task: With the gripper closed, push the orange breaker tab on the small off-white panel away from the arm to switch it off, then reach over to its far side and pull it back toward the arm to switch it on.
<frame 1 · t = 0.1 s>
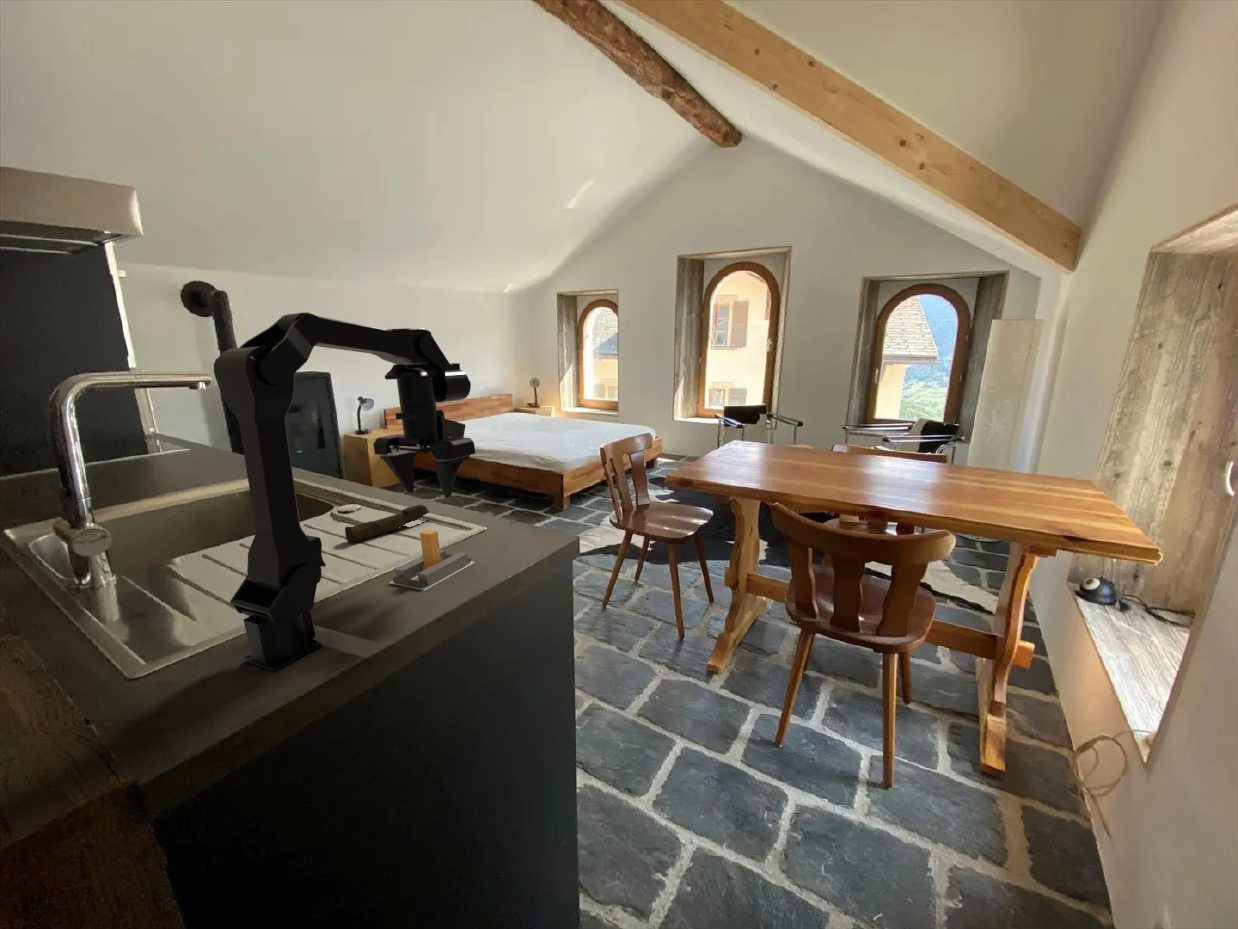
hand: (429, 494, 90), 14 cm above the counter, tool pointing down, fingers open, 9 cm apart
dark brown rod: (390, 532, 117), on the counter
breaker tab: (431, 551, 88), point 5 cm above the counter, slide at 0.0 cm
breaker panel: (434, 580, 89), on the counter
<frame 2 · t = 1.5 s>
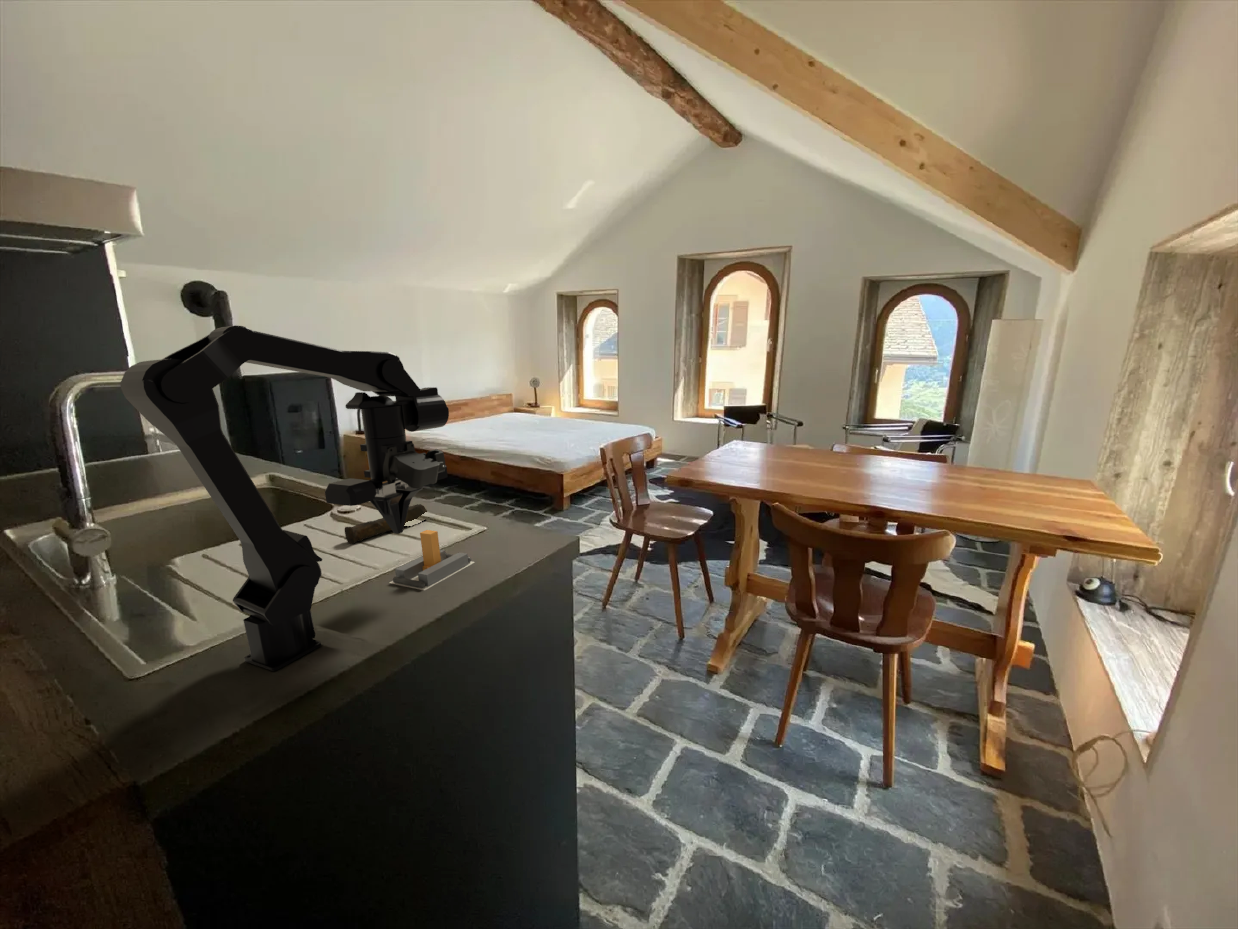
hand: (398, 533, 82), 11 cm above the counter, tool pointing down, fingers closed
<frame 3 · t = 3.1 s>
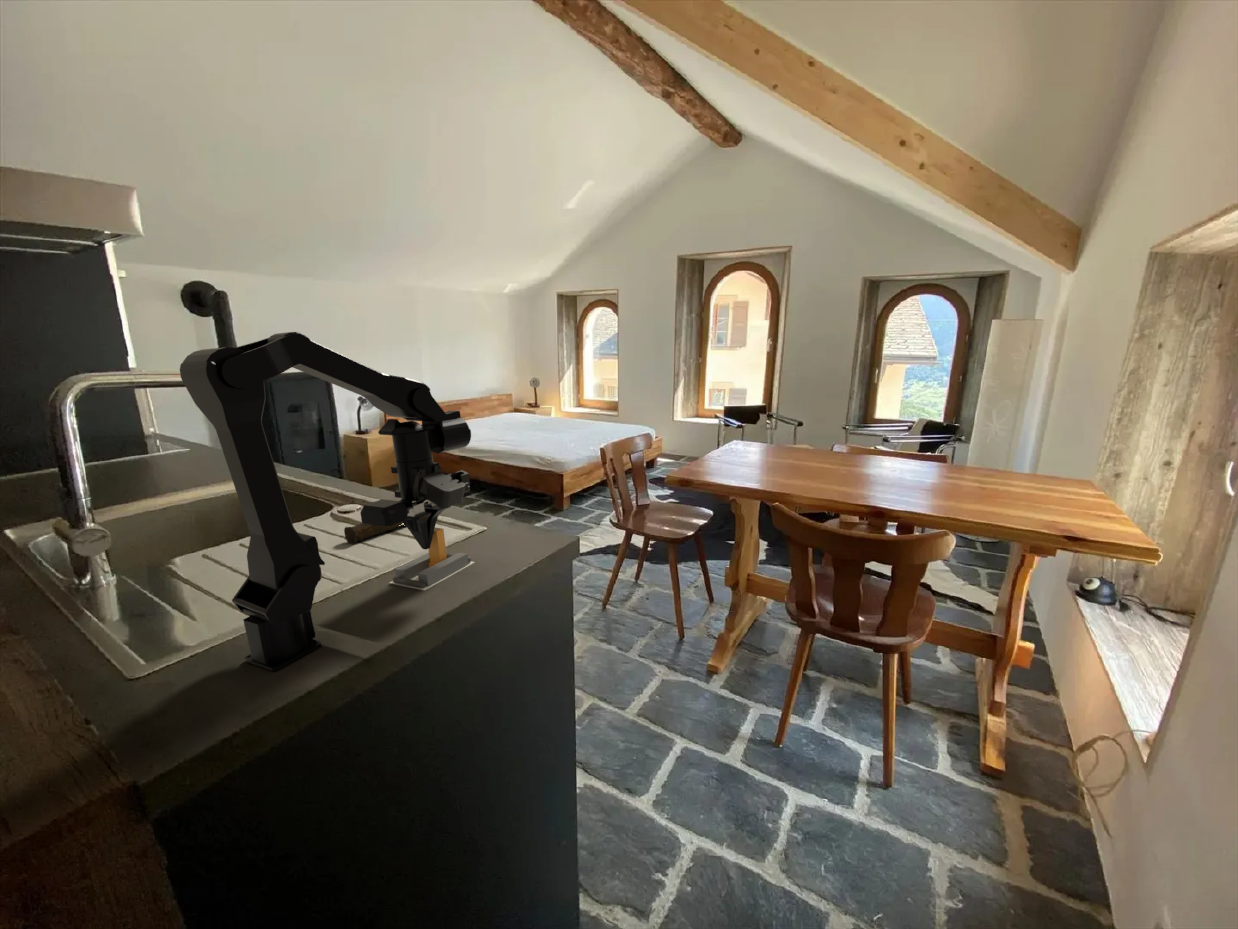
hand: (426, 548, 87), 6 cm above the counter, tool pointing down, fingers closed
breaker tab: (437, 548, 89), point 5 cm above the counter, slide at 1.4 cm, touching gripper
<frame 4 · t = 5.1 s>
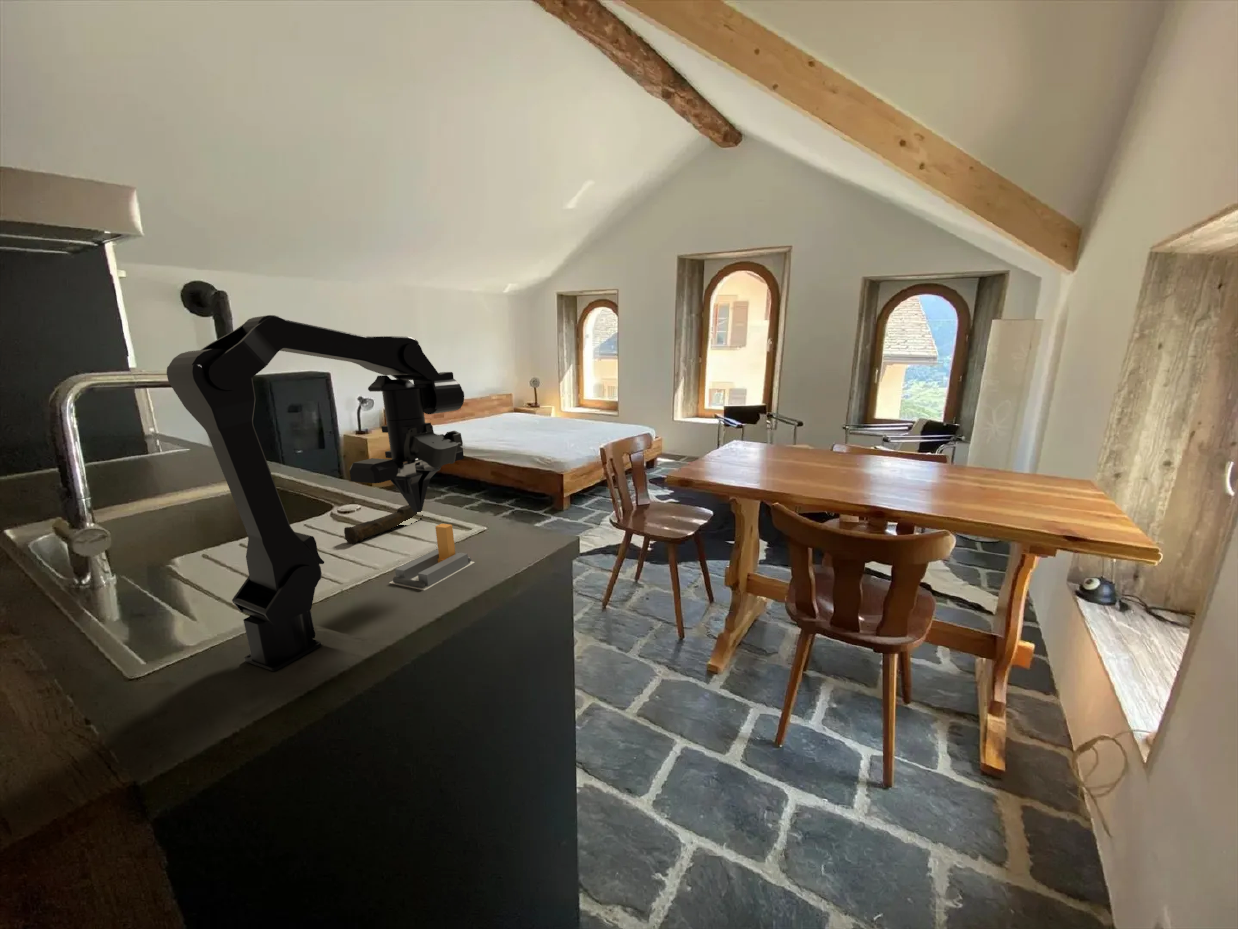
hand: (417, 511, 85), 13 cm above the counter, tool pointing down, fingers closed
breaker tab: (445, 544, 91), point 5 cm above the counter, slide at 3.6 cm
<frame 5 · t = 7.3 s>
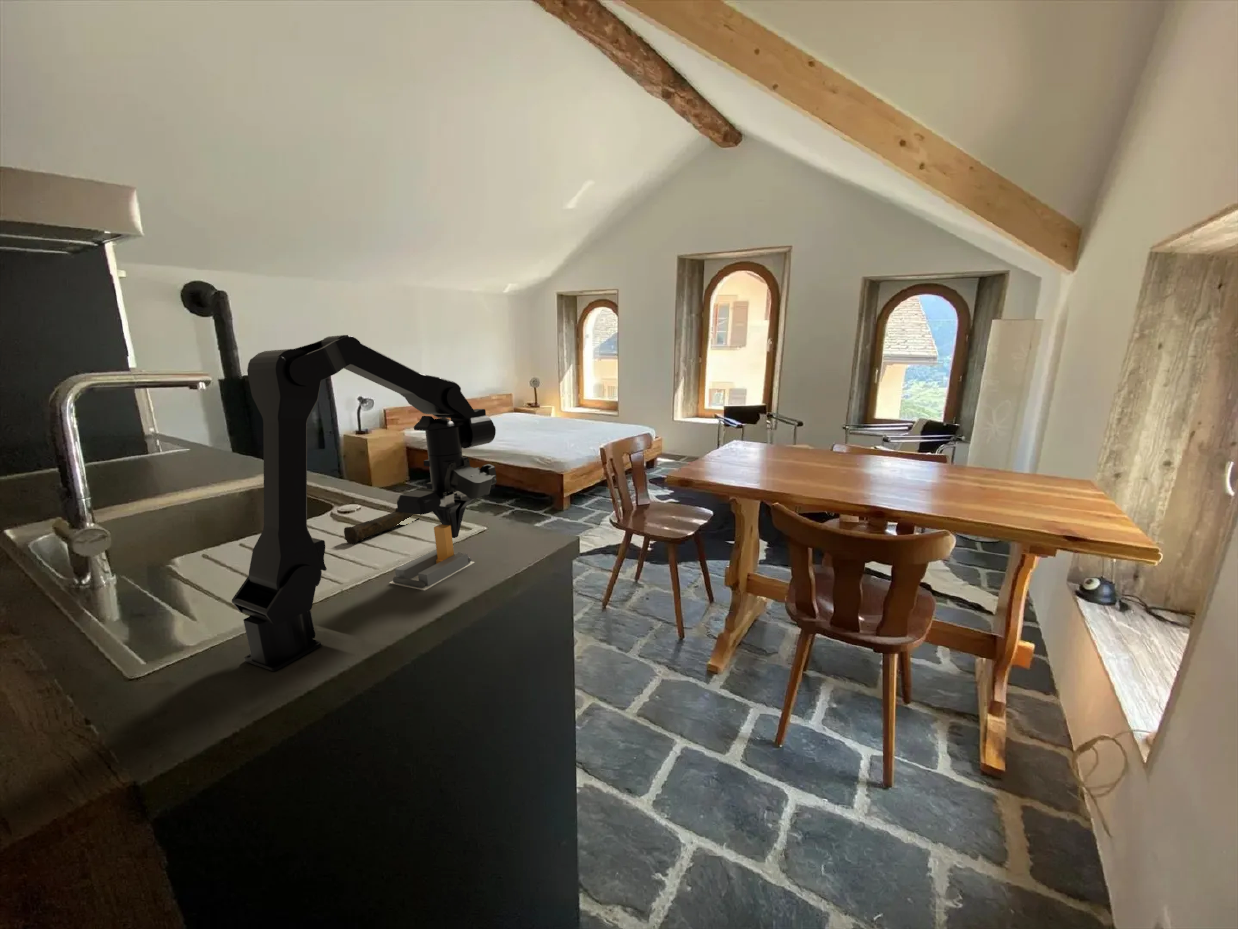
hand: (454, 537, 93), 6 cm above the counter, tool pointing down, fingers closed
breaker tab: (444, 545, 91), point 5 cm above the counter, slide at 3.2 cm, touching gripper
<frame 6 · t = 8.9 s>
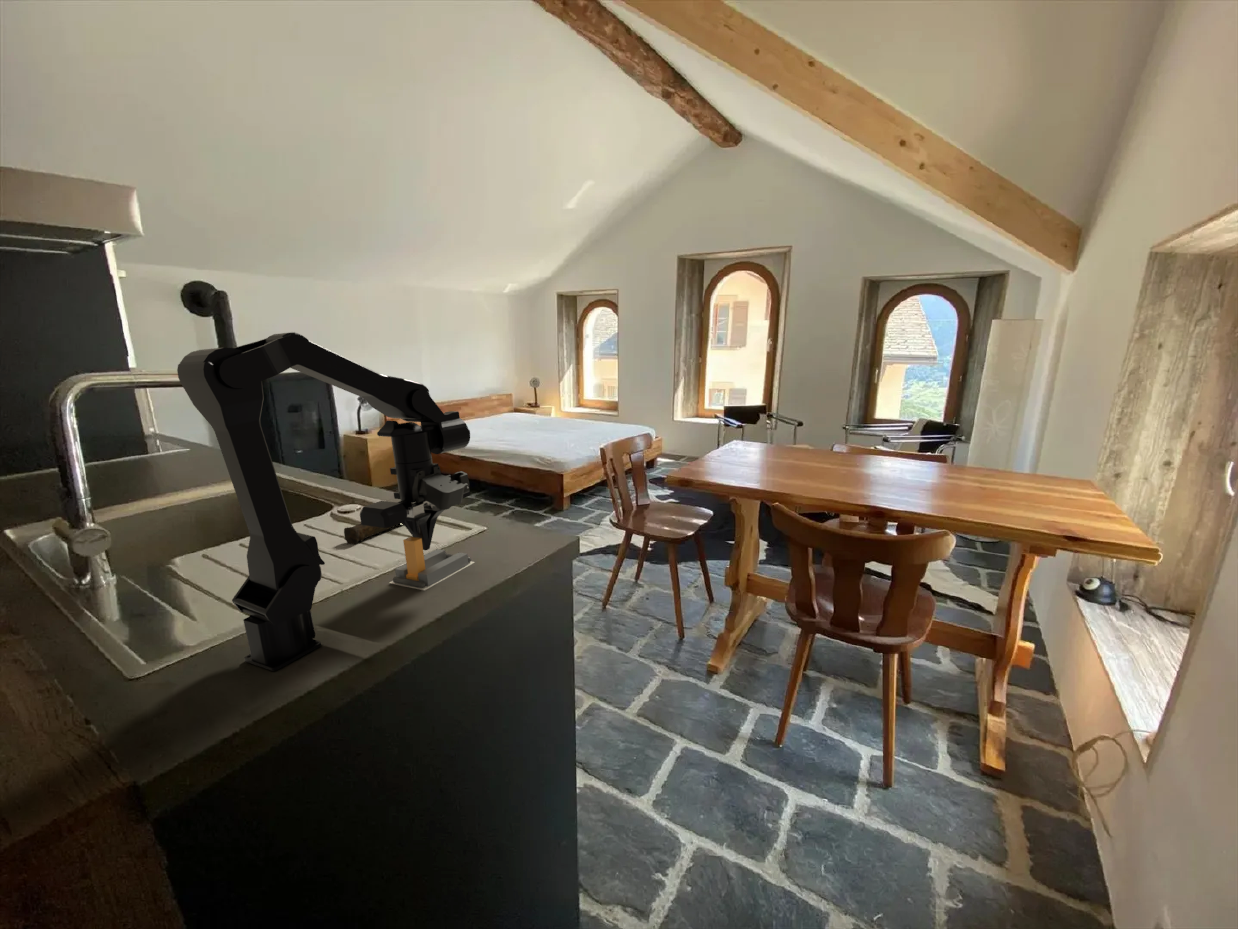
hand: (425, 549, 87), 6 cm above the counter, tool pointing down, fingers closed
breaker tab: (415, 559, 85), point 5 cm above the counter, slide at -3.6 cm, touching gripper
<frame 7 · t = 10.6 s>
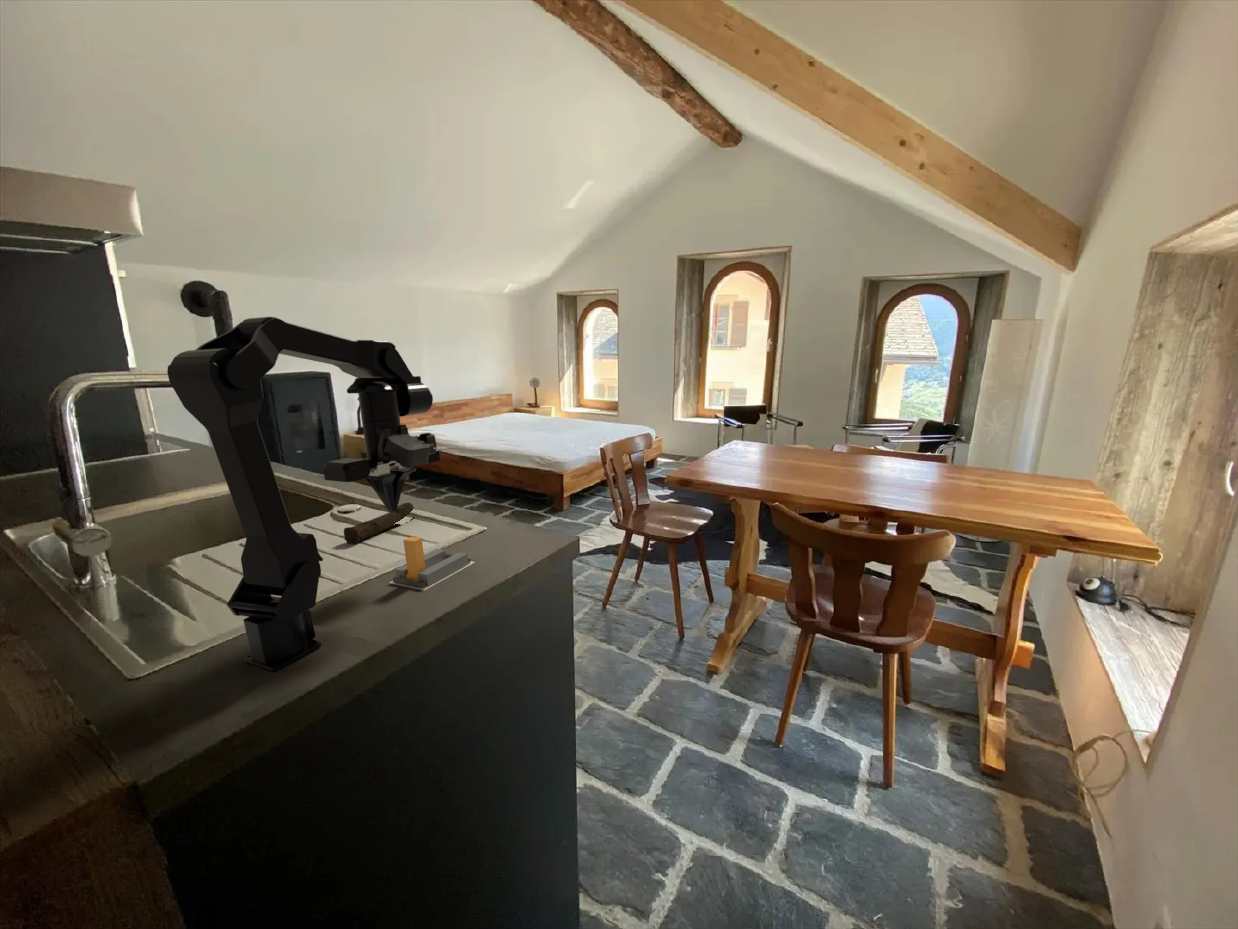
hand: (392, 511, 87), 13 cm above the counter, tool pointing down, fingers closed
breaker tab: (415, 559, 85), point 5 cm above the counter, slide at -3.6 cm
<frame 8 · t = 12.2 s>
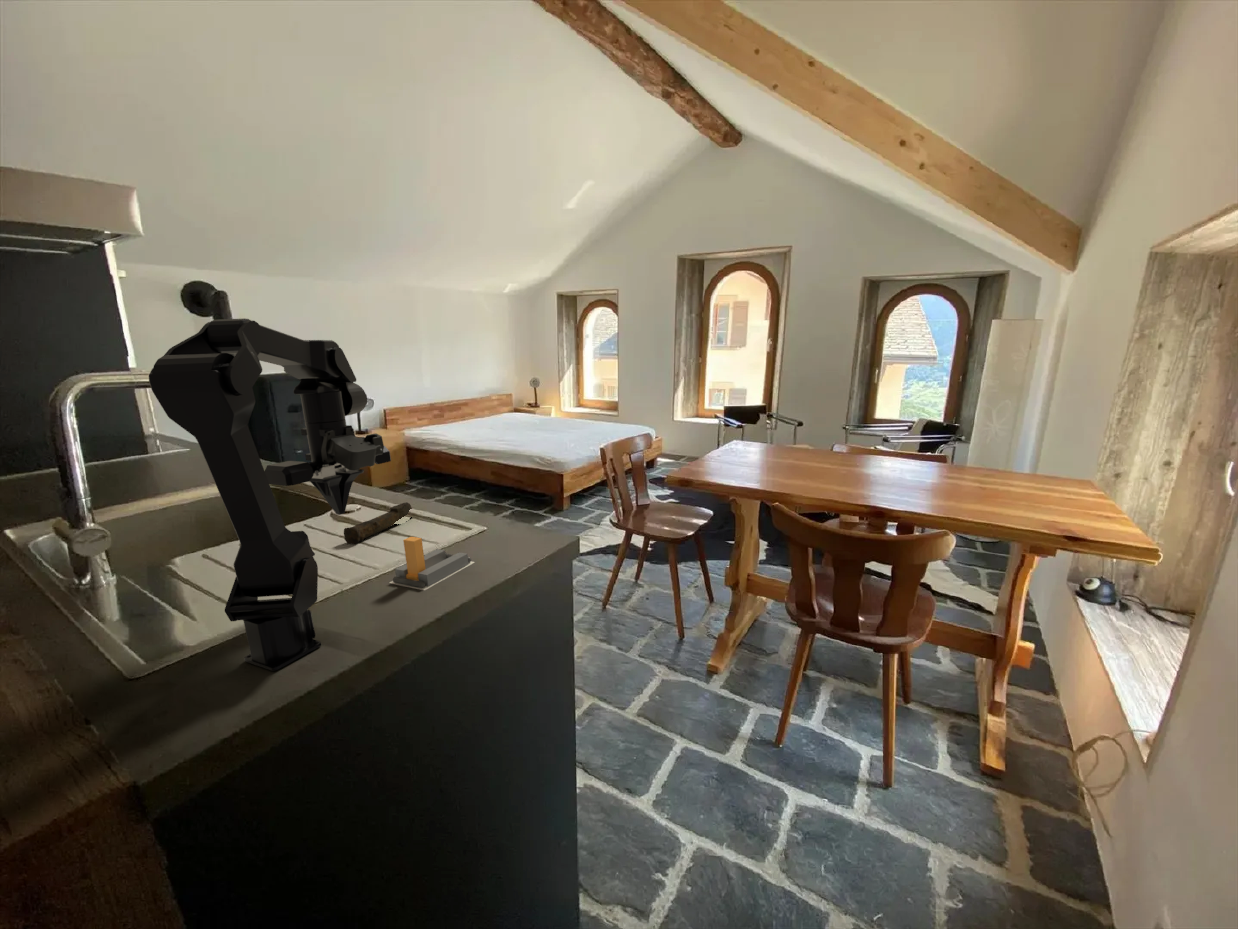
hand: (340, 514, 85), 13 cm above the counter, tool pointing down, fingers closed
at the end: breaker tab slide at -3.6 cm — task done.
